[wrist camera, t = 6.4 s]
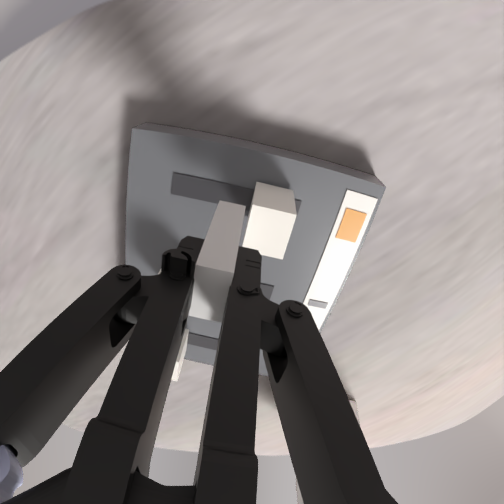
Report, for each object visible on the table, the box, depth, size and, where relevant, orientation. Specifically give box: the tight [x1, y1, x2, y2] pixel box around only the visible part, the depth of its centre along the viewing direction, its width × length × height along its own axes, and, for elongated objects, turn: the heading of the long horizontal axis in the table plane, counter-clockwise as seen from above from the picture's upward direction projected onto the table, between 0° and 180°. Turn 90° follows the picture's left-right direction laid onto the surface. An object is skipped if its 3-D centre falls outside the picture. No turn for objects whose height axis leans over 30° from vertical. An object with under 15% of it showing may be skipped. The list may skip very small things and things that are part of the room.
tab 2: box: [242, 182, 297, 260], centre depth 20 cm, size 2×3×4 cm
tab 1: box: [171, 329, 189, 381], centre depth 27 cm, size 2×3×4 cm
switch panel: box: [125, 123, 386, 376], centre depth 26 cm, size 18×22×3 cm
